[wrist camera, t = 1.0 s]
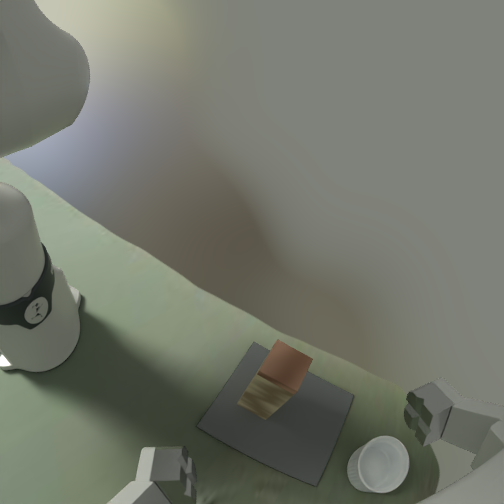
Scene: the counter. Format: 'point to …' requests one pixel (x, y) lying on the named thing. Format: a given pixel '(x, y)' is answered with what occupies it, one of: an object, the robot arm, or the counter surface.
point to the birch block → (275, 380)
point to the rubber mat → (280, 422)
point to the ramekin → (378, 465)
